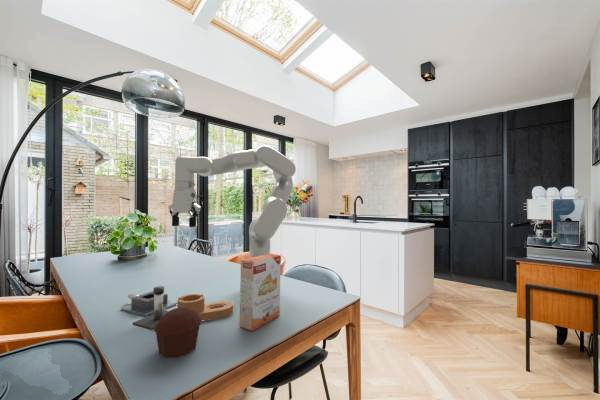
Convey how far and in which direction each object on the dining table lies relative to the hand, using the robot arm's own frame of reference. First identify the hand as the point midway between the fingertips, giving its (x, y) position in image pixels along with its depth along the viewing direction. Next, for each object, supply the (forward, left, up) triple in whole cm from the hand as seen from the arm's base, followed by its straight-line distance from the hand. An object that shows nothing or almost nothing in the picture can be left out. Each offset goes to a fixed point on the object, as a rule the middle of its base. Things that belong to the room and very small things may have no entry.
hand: (183, 226), depth 113 cm
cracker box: (-44, +9, -28) cm, 53 cm away
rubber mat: (-13, +22, -28) cm, 38 cm away
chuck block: (+1, +16, -28) cm, 33 cm away
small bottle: (-13, +22, -28) cm, 38 cm away
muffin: (-33, +32, -28) cm, 54 cm away
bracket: (-25, +13, -29) cm, 40 cm away
